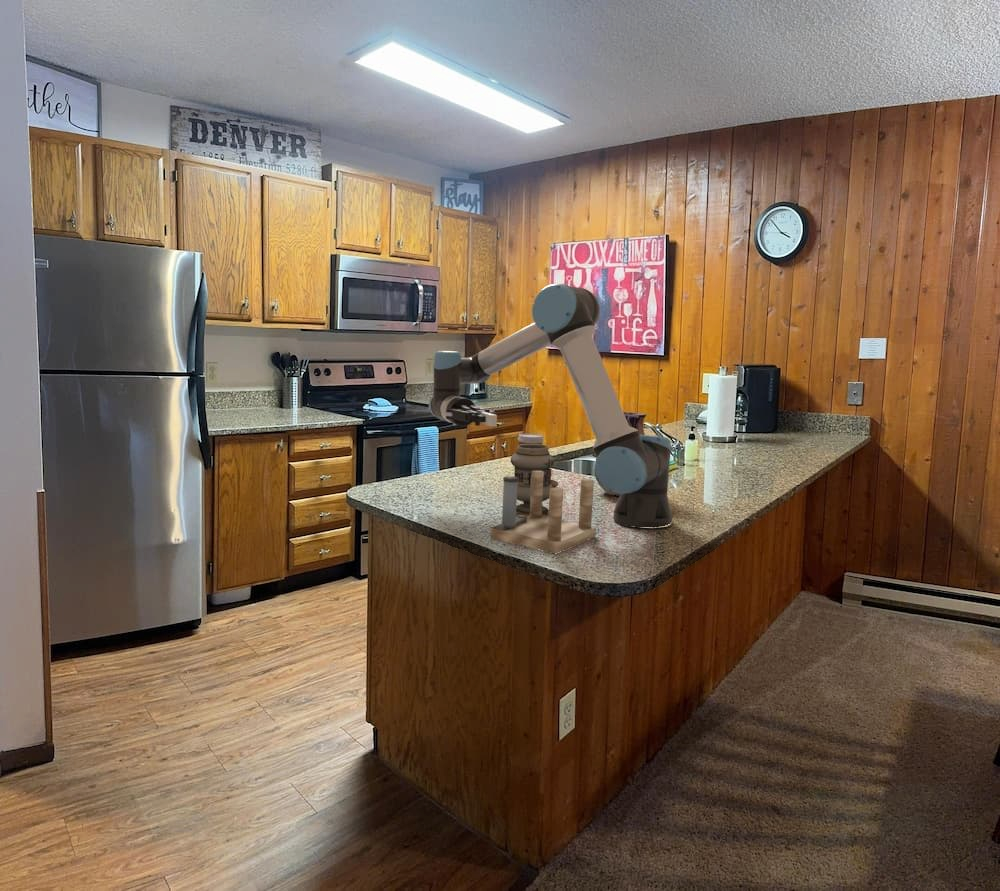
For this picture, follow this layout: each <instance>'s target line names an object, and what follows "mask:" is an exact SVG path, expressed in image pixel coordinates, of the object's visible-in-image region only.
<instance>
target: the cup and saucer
mask: <svg viewBox="0 0 1000 891" xmlns="http://www.w3.org/2000/svg"><path fill="white" fill-rule="evenodd" d="M549 483H550V484H551V485H552V487H553V488H557V486H558V485H559V482H558V481H556V480H553V479H552V468H551V467H550V468H549Z"/></svg>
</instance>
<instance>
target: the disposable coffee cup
mask: <svg viewBox="0 0 1000 891" xmlns="http://www.w3.org/2000/svg"><path fill="white" fill-rule="evenodd" d="M517 441H518V445H521V444H541V445H543V444H544V441H545V438H544V436H543V434H537V433H519V434H518V437H517Z"/></svg>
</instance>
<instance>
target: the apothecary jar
mask: <svg viewBox="0 0 1000 891" xmlns="http://www.w3.org/2000/svg"><path fill="white" fill-rule="evenodd" d="M510 463H511V465H512V466H514V472H513V473H514V475H513V477H517V478H518V482H517V501H519V502H522V503H520V504H517V505H516V514H518V515H526V516H528V515H530V497H531V475H532V471H535V470H538V471H543V472H544V478H543V498H542V503H543V502H544V501H547V500H549V493H550V488H553V487H552V485H551V484H550V483H549V468H550V469H551V467H553V466H554V464H555V458H554V456H553V455H552V454H551V453H550V452H549V446H548V445H546V444H542V445H541V444H521V445H519V444H518V445H517V446H516V449H515V452H514V453H513V454H512V455H511V456H510ZM548 513H549V508H548V507H546V506H544V505H543V504H542V515H546V514H548Z"/></svg>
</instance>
